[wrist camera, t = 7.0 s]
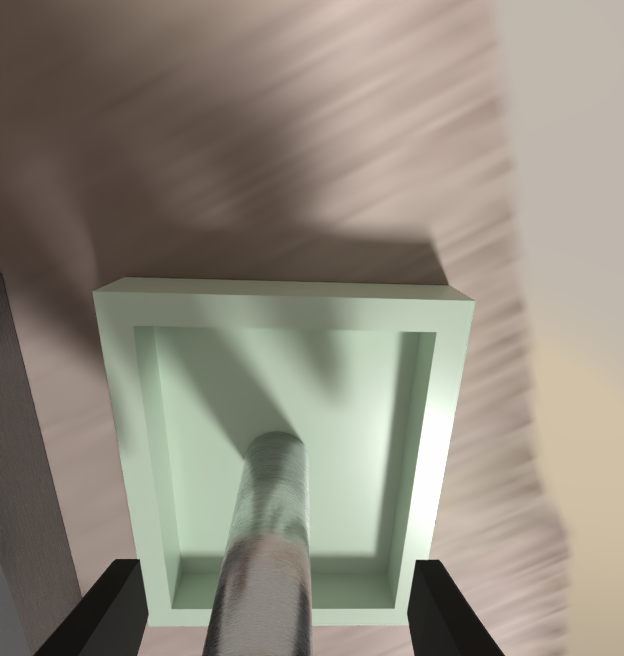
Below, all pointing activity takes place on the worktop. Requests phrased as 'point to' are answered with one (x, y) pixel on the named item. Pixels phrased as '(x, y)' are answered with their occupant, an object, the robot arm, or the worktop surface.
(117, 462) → the worktop surface
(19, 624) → the drawbar
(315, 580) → the tray
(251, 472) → the hitch pin
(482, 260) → the worktop surface
